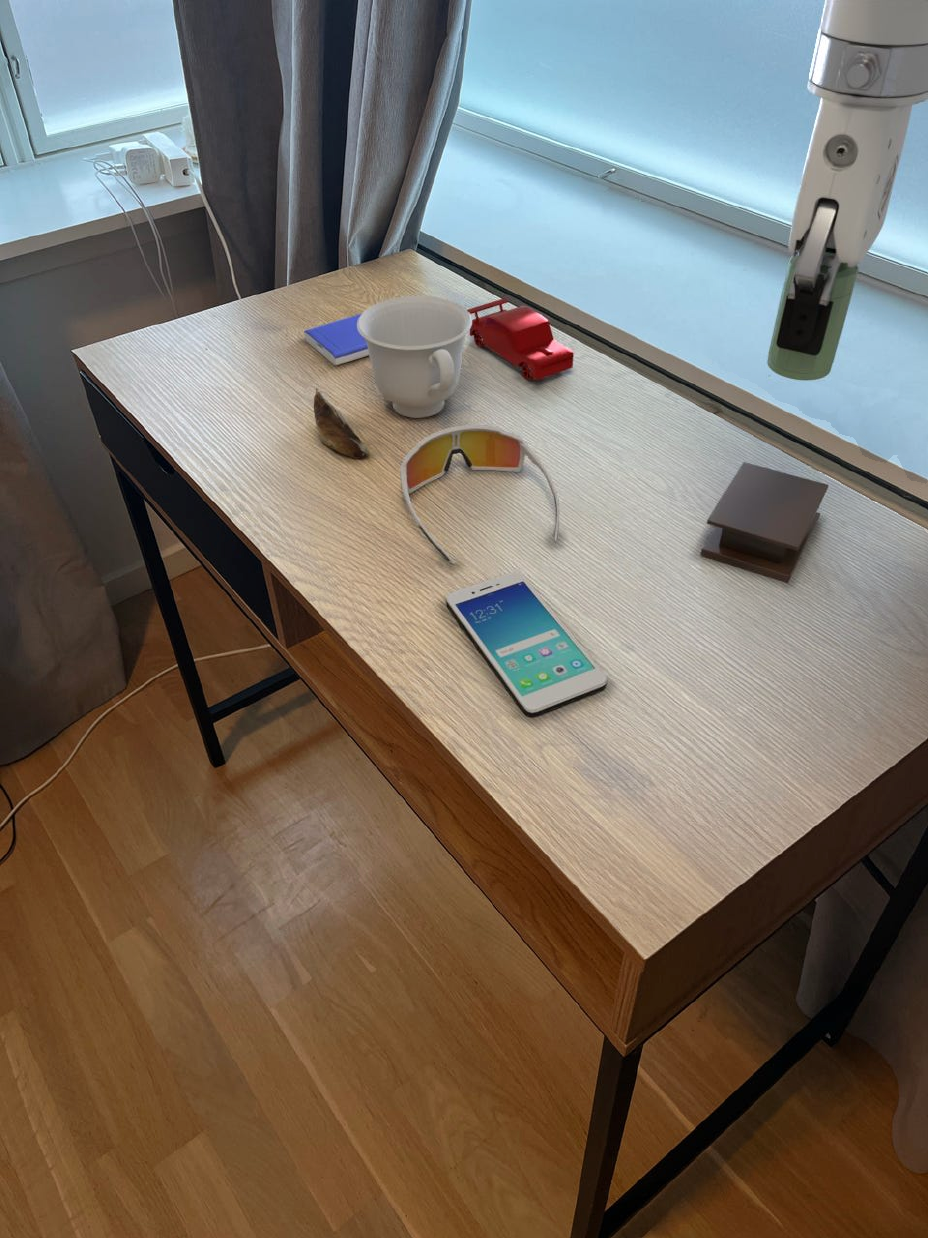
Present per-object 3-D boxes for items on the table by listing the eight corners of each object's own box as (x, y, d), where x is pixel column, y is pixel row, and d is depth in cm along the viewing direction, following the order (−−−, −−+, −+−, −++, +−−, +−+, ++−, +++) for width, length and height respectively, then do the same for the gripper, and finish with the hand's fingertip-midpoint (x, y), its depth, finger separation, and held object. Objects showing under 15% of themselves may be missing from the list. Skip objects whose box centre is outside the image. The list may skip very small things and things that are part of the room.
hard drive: (391, 302, 123) (303, 328, 118) (425, 326, 118) (335, 354, 113) (391, 314, 124) (305, 340, 119) (425, 338, 119) (336, 367, 114)
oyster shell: (357, 480, 104) (305, 407, 105) (384, 458, 103) (331, 385, 104) (338, 473, 98) (284, 395, 99) (367, 450, 98) (311, 372, 99)
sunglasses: (518, 451, 100) (522, 412, 96) (574, 553, 91) (581, 515, 87) (386, 477, 97) (384, 438, 93) (430, 586, 88) (430, 548, 84)
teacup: (397, 458, 99) (391, 370, 93) (349, 391, 109) (340, 307, 103) (502, 431, 103) (504, 344, 96) (447, 369, 113) (444, 286, 106)
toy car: (466, 341, 118) (466, 302, 115) (503, 328, 120) (504, 290, 117) (535, 388, 109) (536, 348, 106) (573, 374, 112) (576, 334, 108)
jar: (837, 359, 76) (864, 258, 70) (822, 386, 73) (849, 283, 67) (776, 345, 78) (799, 246, 72) (759, 371, 74) (781, 270, 69)
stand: (818, 519, 91) (829, 484, 88) (788, 583, 84) (798, 547, 82) (735, 496, 94) (743, 461, 91) (700, 555, 87) (707, 520, 84)
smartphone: (527, 713, 72) (441, 594, 82) (527, 720, 73) (442, 602, 83) (611, 680, 75) (518, 569, 85) (610, 687, 75) (518, 576, 85)
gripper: (909, 108, 54) (830, 396, 67) (958, 42, 65) (881, 300, 77) (777, 91, 57) (724, 371, 69) (844, 30, 68) (788, 282, 80)
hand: (808, 331), depth 73 cm, fingers closed on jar, 4 cm apart
